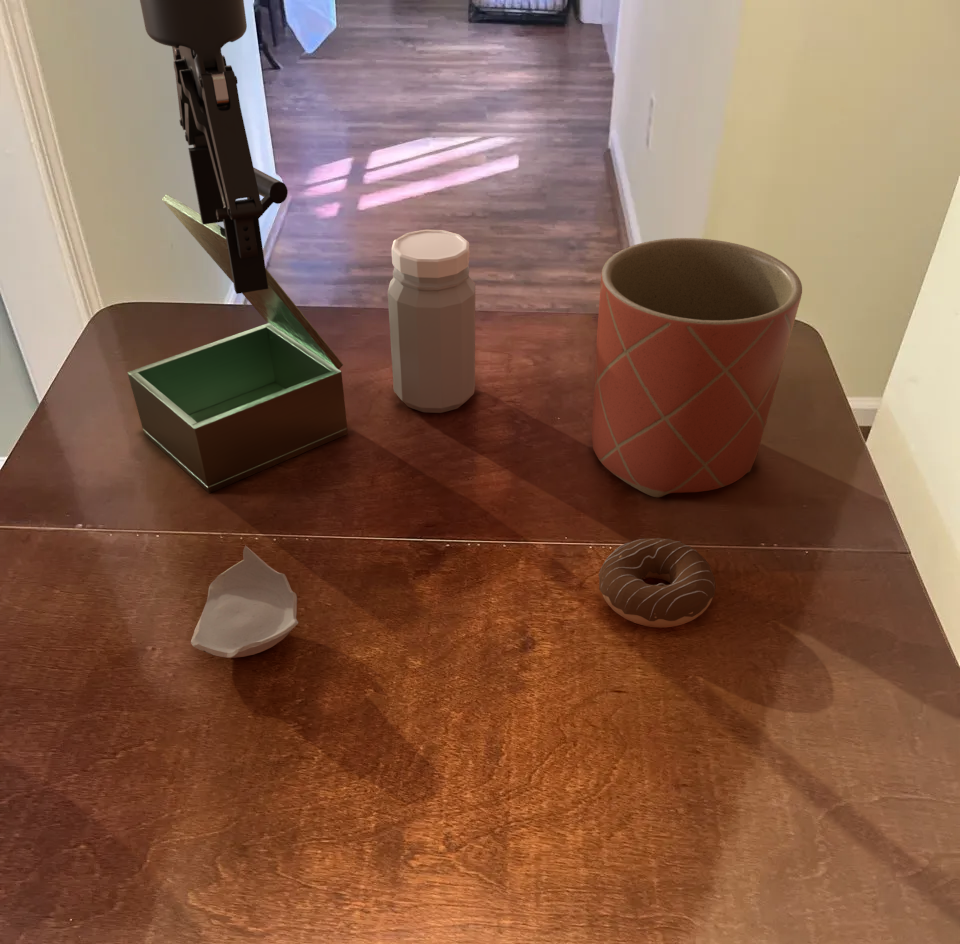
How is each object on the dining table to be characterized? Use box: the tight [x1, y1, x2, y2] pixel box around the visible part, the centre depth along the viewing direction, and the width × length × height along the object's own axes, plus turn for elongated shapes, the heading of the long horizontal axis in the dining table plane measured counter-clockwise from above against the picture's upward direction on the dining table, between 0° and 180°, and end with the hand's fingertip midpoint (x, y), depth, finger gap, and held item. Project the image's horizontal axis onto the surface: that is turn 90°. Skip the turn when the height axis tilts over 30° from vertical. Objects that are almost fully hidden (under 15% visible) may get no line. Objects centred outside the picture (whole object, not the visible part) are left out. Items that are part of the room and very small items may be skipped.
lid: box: [161, 166, 344, 370], centre depth 101 cm, size 18×15×8 cm
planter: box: [591, 237, 803, 498], centre depth 101 cm, size 19×19×20 cm
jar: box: [387, 229, 476, 414], centre depth 110 cm, size 10×10×18 cm
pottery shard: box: [190, 544, 299, 659], centre depth 86 cm, size 10×11×5 cm
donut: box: [597, 537, 716, 629], centre depth 90 cm, size 11×11×4 cm
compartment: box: [127, 322, 348, 494], centre depth 108 cm, size 18×15×8 cm
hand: (233, 256), depth 88 cm, fingers open, 13 cm apart
